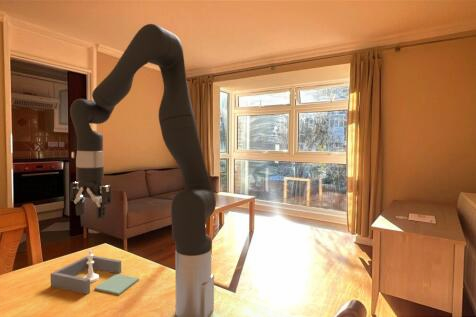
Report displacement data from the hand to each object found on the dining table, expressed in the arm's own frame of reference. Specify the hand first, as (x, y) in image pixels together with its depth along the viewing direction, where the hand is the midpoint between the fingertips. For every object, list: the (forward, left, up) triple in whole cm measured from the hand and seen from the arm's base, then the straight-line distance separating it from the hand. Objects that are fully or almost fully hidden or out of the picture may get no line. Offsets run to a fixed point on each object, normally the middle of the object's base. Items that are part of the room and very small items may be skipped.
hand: (90, 216), depth 86 cm
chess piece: (+1, -1, -21) cm, 21 cm away
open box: (+1, -1, -21) cm, 21 cm away
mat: (-10, -1, -21) cm, 23 cm away
